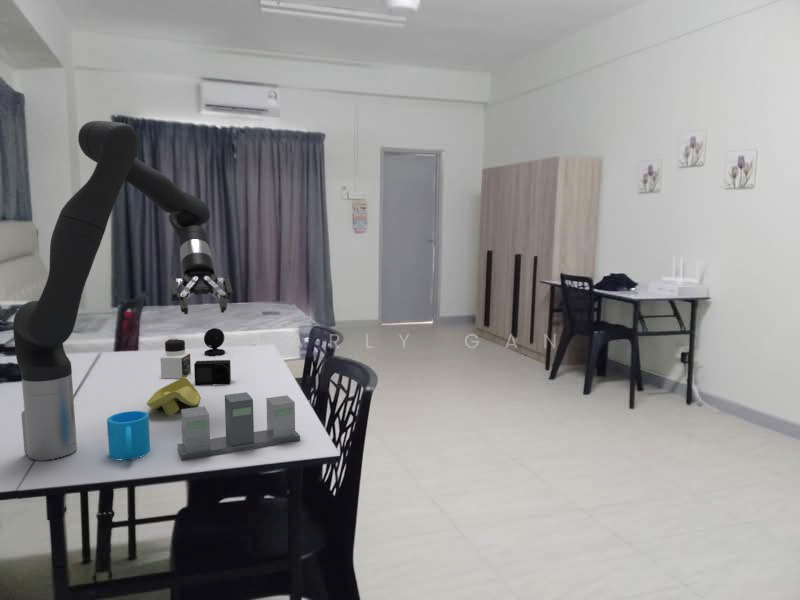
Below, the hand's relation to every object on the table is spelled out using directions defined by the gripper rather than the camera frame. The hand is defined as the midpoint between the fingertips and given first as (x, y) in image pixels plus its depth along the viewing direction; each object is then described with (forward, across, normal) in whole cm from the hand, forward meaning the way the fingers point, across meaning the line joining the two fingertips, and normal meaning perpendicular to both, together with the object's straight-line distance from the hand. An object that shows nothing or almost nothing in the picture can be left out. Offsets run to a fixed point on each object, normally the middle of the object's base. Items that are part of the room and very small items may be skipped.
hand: (205, 311), depth 141 cm
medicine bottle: (-18, -1, +58) cm, 61 cm away
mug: (+29, -18, +13) cm, 36 cm away
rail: (+31, +5, +9) cm, 33 cm away
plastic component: (+7, -6, +34) cm, 36 cm away
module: (+30, +5, +9) cm, 32 cm away
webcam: (-37, +16, +77) cm, 87 cm away
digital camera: (-7, +8, +48) cm, 49 cm away
